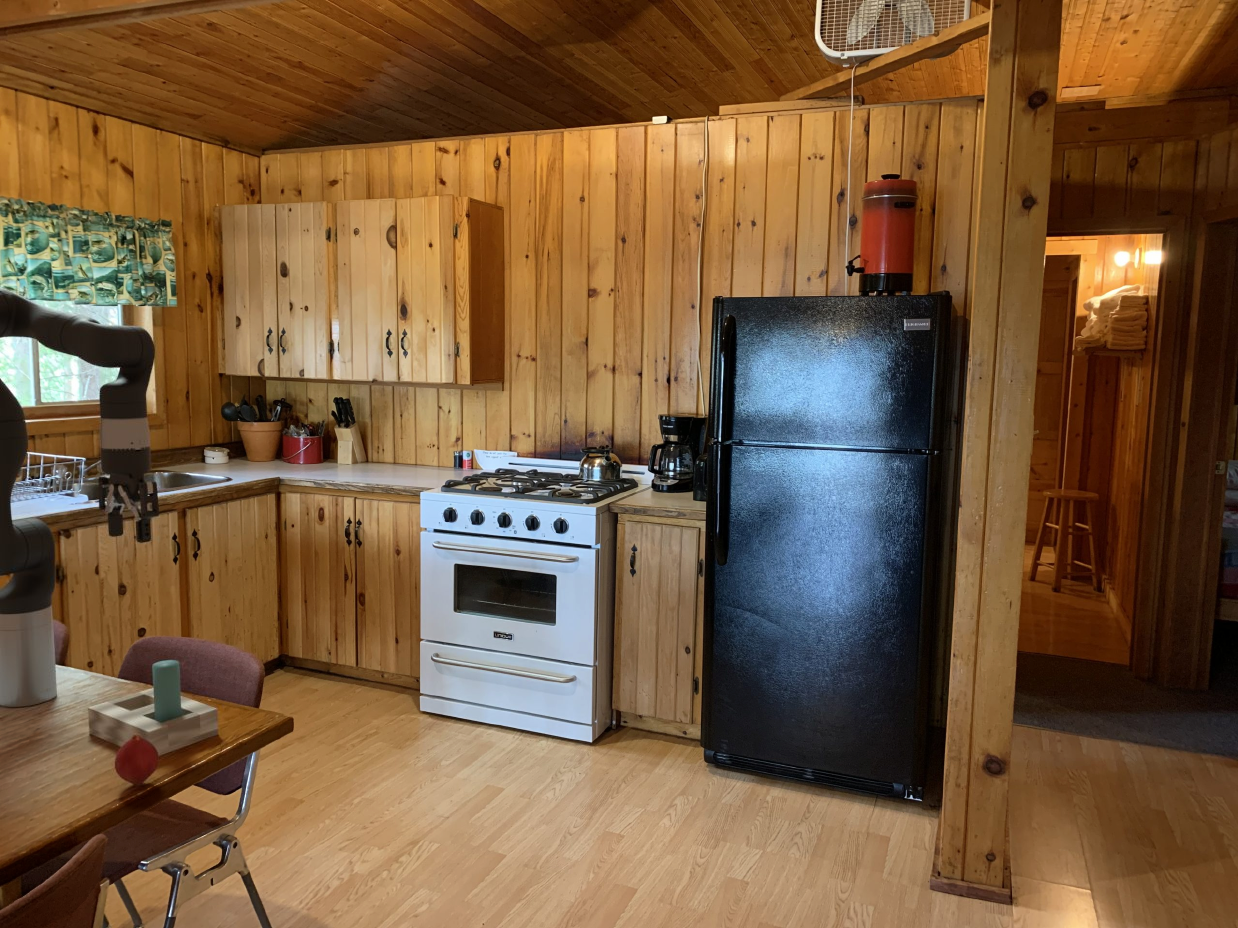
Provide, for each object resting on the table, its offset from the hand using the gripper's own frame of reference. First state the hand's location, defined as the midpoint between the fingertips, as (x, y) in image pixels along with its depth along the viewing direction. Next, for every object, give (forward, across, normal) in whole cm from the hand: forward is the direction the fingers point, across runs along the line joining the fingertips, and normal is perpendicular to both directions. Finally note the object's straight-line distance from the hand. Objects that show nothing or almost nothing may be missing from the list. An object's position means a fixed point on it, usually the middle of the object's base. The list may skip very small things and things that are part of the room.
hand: (129, 539), depth 162 cm
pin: (+31, +12, -2) cm, 34 cm away
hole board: (+32, +8, -2) cm, 33 cm away
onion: (+32, +24, -14) cm, 43 cm away
